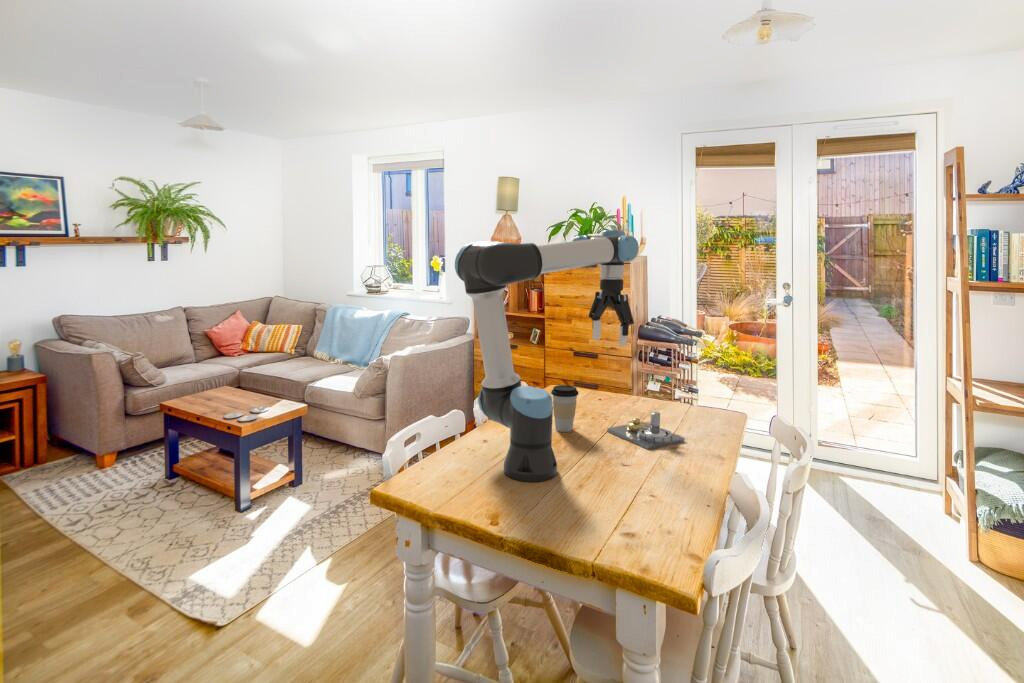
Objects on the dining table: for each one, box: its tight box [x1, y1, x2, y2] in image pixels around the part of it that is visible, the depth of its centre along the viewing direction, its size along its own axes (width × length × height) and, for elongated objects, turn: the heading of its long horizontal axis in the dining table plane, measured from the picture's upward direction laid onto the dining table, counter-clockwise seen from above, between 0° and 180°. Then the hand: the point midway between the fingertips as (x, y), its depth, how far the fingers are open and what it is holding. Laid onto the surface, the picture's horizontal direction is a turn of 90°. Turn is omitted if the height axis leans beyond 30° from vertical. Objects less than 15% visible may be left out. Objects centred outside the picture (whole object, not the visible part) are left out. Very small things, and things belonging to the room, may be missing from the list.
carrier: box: [607, 417, 685, 450], centre depth 191 cm, size 16×20×5 cm
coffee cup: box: [550, 384, 579, 433], centre depth 196 cm, size 9×9×15 cm
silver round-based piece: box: [644, 411, 666, 437], centre depth 187 cm, size 7×7×8 cm
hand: (609, 342), depth 188 cm, fingers open, 13 cm apart
